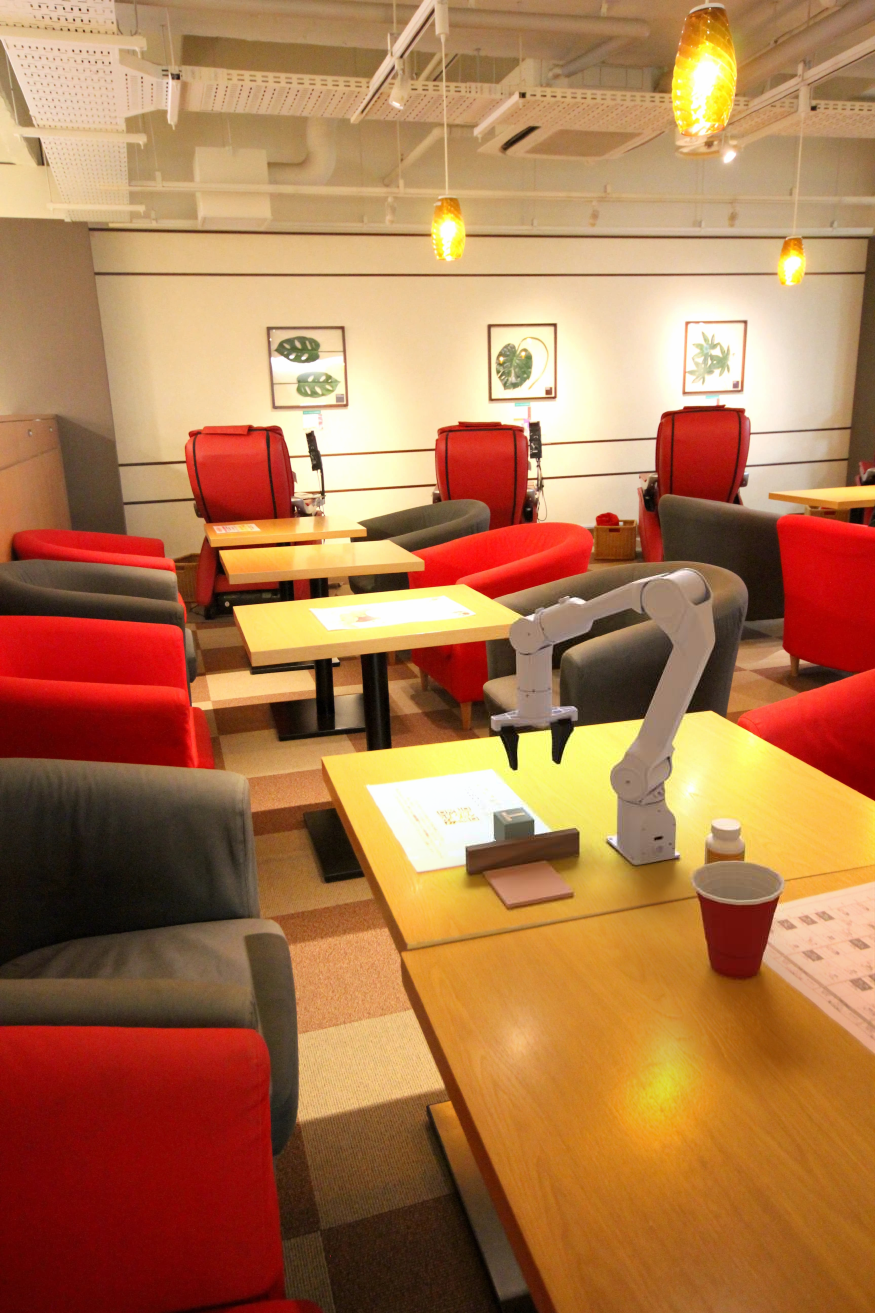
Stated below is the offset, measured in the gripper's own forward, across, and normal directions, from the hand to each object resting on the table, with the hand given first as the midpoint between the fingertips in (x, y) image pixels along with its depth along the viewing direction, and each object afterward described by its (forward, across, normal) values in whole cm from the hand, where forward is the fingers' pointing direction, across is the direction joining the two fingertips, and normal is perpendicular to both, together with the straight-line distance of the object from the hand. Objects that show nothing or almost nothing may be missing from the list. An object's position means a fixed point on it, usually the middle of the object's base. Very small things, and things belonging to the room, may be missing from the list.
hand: (535, 765), depth 151 cm
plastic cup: (+10, -7, +47) cm, 49 cm away
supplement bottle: (+10, -17, +30) cm, 36 cm away
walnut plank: (+10, +8, +14) cm, 19 cm away
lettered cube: (+10, +7, +8) cm, 14 cm away
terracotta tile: (+10, +10, +21) cm, 25 cm away
